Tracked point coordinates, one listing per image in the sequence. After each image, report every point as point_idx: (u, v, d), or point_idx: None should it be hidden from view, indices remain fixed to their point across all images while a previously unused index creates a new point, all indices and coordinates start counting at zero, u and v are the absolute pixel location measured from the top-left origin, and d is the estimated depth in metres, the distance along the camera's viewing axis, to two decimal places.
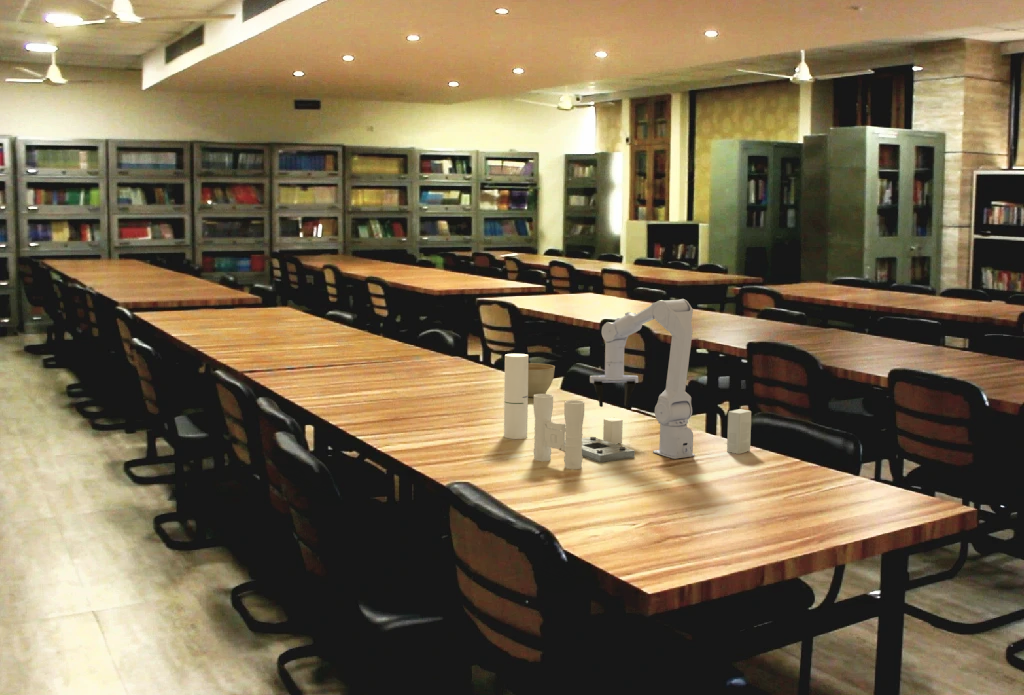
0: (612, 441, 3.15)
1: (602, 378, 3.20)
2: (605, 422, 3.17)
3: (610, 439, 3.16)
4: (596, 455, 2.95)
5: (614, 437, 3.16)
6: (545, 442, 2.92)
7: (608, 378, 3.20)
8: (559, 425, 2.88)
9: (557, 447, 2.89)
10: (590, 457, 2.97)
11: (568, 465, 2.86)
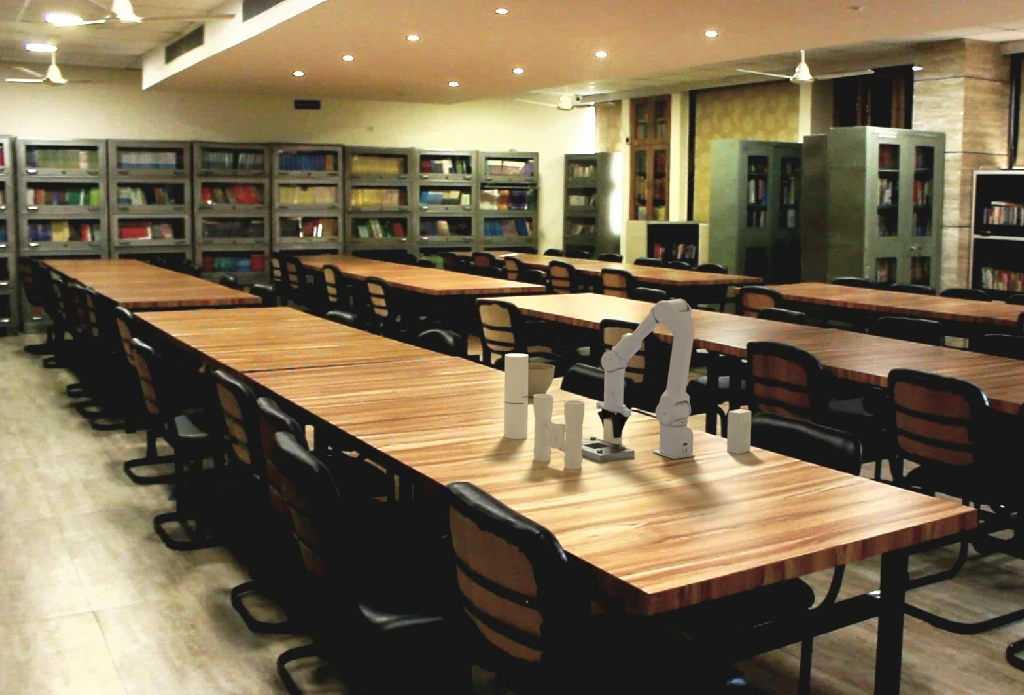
0: (612, 441, 3.15)
1: (600, 405, 3.19)
2: (605, 422, 3.17)
3: (610, 439, 3.16)
4: (596, 455, 2.95)
5: None
6: (545, 442, 2.92)
7: (602, 406, 3.17)
8: (559, 425, 2.88)
9: (557, 447, 2.89)
10: (590, 457, 2.97)
11: (568, 465, 2.86)
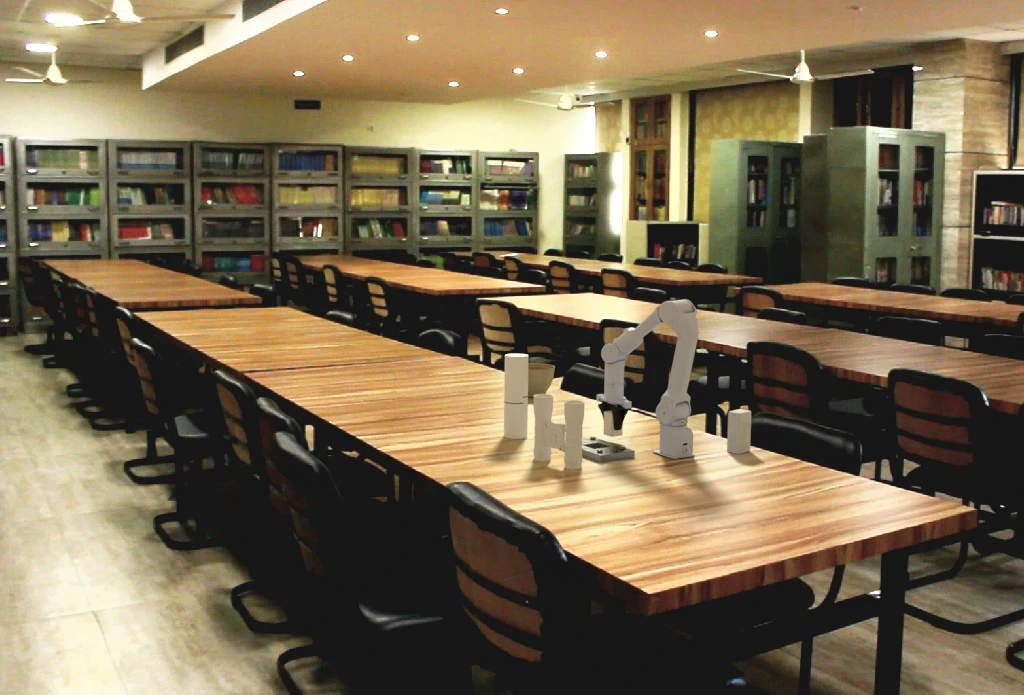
0: (612, 433, 3.15)
1: (600, 397, 3.19)
2: (605, 414, 3.17)
3: (610, 431, 3.15)
4: (596, 455, 2.95)
5: (615, 430, 3.15)
6: (545, 442, 2.92)
7: (602, 398, 3.17)
8: (559, 425, 2.88)
9: (557, 447, 2.89)
10: (590, 457, 2.97)
11: (568, 465, 2.86)
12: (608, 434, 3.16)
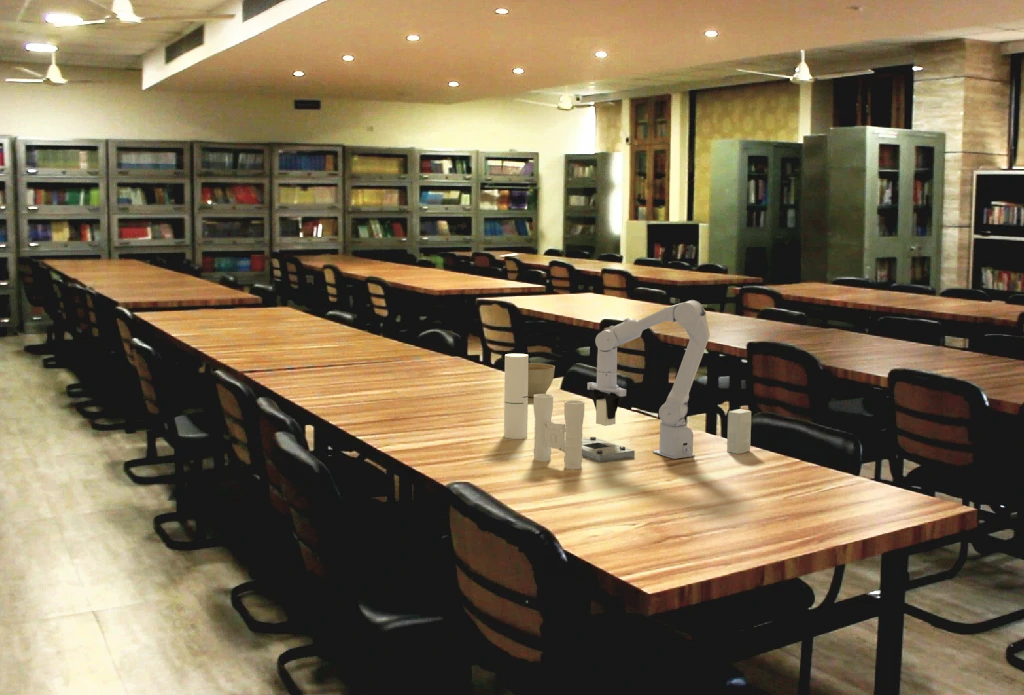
0: (606, 422, 3.08)
1: (592, 386, 3.12)
2: (598, 403, 3.10)
3: (604, 420, 3.08)
4: (596, 455, 2.95)
5: None
6: (545, 442, 2.92)
7: (595, 386, 3.10)
8: (559, 425, 2.88)
9: (557, 447, 2.89)
10: (590, 457, 2.97)
11: (568, 465, 2.86)
12: (601, 423, 3.09)
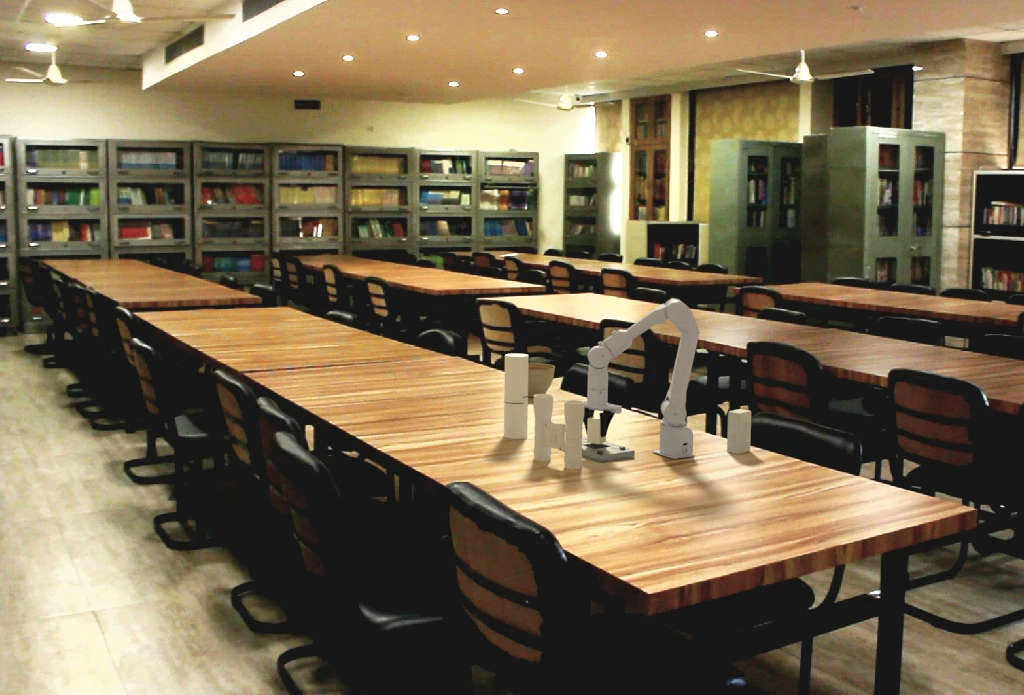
0: (600, 440, 3.02)
1: None
2: (590, 421, 3.03)
3: (598, 438, 3.02)
4: (596, 455, 2.95)
5: None
6: (545, 442, 2.92)
7: (586, 405, 3.02)
8: (559, 425, 2.88)
9: (557, 447, 2.89)
10: (590, 457, 2.97)
11: (568, 465, 2.86)
12: (594, 442, 3.03)
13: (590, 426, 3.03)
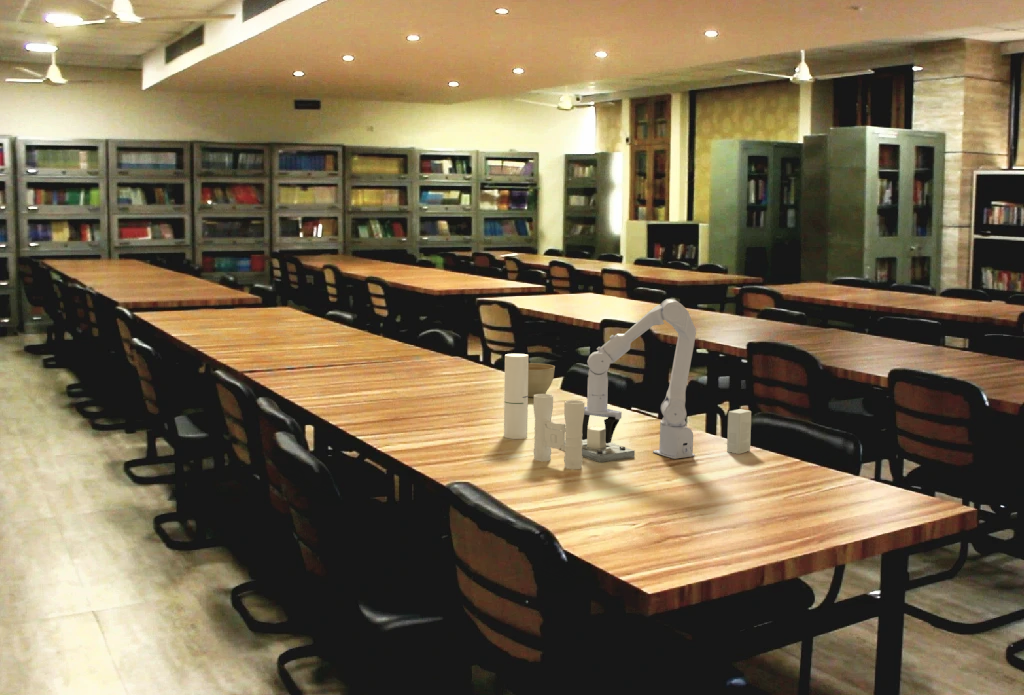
0: None
1: None
2: (589, 432, 3.03)
3: None
4: (596, 455, 2.95)
5: (601, 447, 3.03)
6: (545, 442, 2.92)
7: (586, 410, 3.02)
8: (559, 425, 2.88)
9: (557, 447, 2.89)
10: (590, 457, 2.97)
11: (568, 465, 2.86)
12: None
13: (590, 437, 3.03)
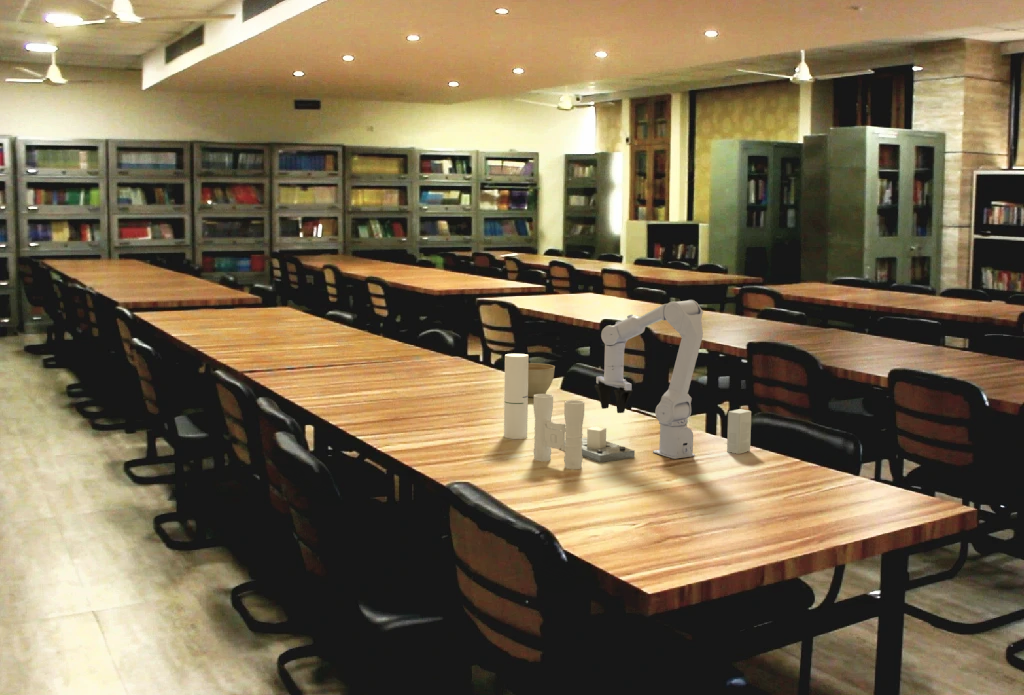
0: None
1: (600, 379, 3.19)
2: (589, 432, 3.03)
3: None
4: (596, 455, 2.95)
5: (601, 447, 3.03)
6: (545, 442, 2.92)
7: (602, 380, 3.17)
8: (559, 425, 2.88)
9: (557, 447, 2.89)
10: (590, 457, 2.97)
11: (568, 465, 2.86)
12: None
13: (590, 437, 3.03)
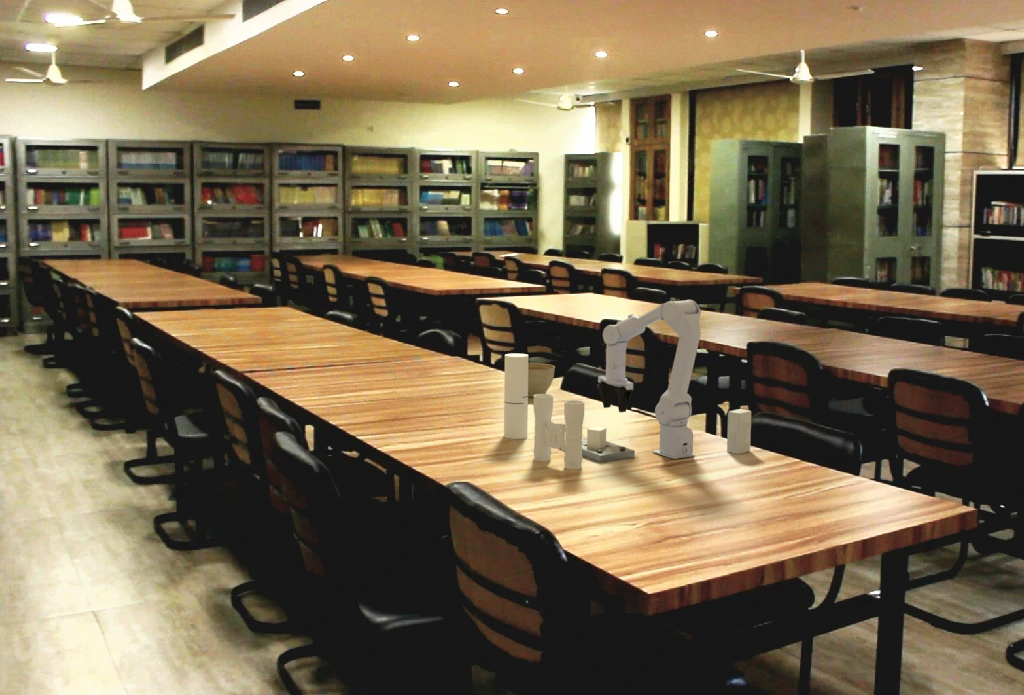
0: None
1: (602, 379, 3.21)
2: (589, 432, 3.03)
3: None
4: (596, 455, 2.95)
5: (601, 447, 3.03)
6: (545, 442, 2.92)
7: (604, 380, 3.19)
8: (559, 425, 2.88)
9: (557, 447, 2.89)
10: (590, 457, 2.97)
11: (568, 465, 2.86)
12: None
13: (590, 437, 3.03)
